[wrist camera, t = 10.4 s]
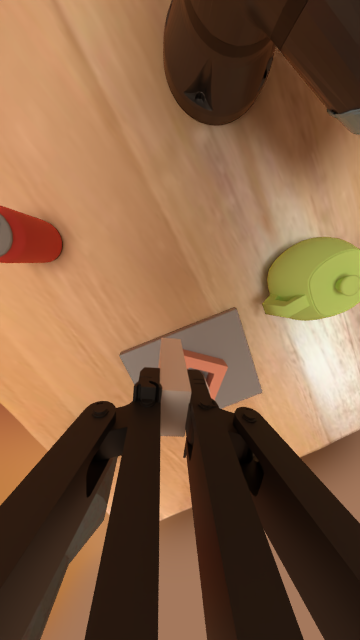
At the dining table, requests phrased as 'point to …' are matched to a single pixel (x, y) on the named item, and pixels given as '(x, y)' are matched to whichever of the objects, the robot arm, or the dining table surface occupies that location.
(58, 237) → the beer can
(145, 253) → the dining table surface
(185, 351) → the square nut
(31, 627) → the bottle
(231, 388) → the board
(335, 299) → the teapot
